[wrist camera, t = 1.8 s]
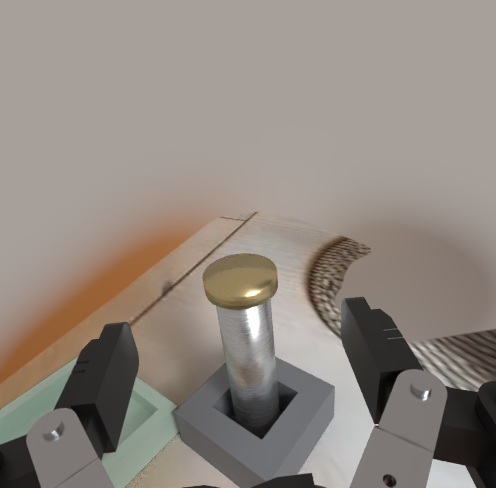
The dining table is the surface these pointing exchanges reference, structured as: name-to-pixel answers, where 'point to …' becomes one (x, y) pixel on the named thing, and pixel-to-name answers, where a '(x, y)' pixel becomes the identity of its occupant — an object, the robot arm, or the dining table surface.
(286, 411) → the socket block
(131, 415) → the tray
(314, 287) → the dining table surface
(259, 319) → the steel pin
